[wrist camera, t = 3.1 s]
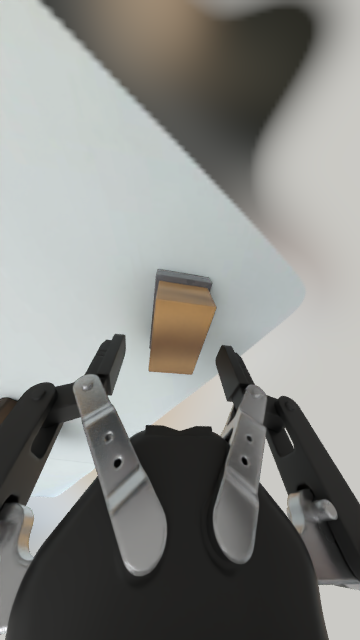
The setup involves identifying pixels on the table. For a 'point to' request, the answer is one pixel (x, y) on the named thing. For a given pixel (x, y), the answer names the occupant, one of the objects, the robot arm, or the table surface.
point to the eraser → (179, 321)
